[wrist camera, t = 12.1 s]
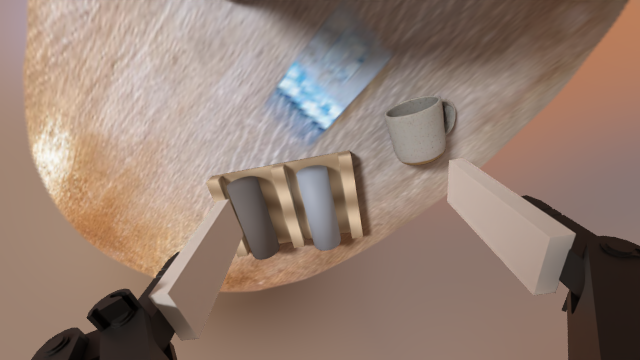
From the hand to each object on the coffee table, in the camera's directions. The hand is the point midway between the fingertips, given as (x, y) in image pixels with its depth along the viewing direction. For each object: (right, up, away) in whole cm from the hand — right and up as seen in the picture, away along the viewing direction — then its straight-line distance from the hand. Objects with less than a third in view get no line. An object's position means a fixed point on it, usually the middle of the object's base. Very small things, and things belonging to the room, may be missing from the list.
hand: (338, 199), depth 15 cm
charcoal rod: (-14, -5, +29) cm, 33 cm away
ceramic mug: (+14, +11, +24) cm, 30 cm away
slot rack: (-7, -3, +30) cm, 31 cm away
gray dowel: (-1, -3, +29) cm, 29 cm away
